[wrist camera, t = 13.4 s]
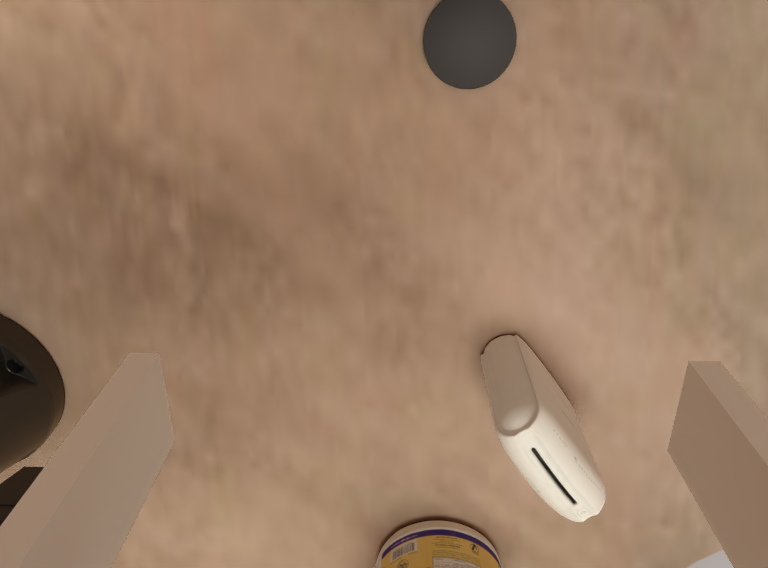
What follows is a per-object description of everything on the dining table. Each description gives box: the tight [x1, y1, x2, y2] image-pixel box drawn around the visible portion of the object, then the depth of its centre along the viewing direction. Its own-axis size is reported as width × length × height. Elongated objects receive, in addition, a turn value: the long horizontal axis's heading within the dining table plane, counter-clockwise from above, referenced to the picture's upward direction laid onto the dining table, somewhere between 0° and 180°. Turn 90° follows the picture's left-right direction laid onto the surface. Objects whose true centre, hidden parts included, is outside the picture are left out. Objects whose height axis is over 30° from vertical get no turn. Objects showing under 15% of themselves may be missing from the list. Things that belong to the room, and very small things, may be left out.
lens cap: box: [423, 0, 516, 89], centre depth 42 cm, size 6×6×1 cm
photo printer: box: [480, 335, 606, 522], centre depth 48 cm, size 10×4×12 cm, turn 36°
